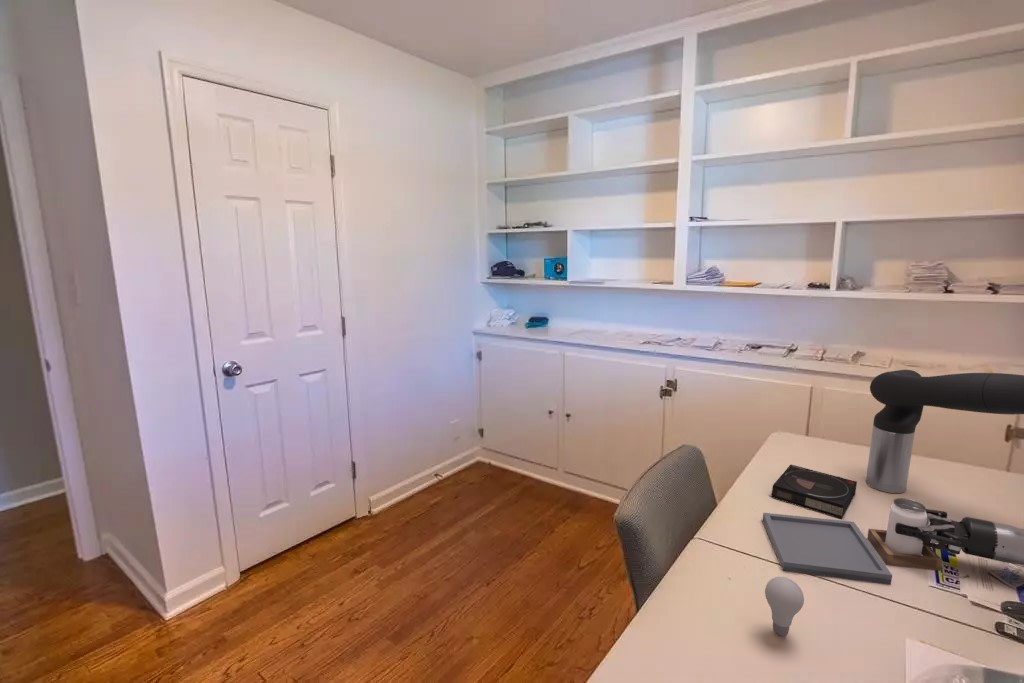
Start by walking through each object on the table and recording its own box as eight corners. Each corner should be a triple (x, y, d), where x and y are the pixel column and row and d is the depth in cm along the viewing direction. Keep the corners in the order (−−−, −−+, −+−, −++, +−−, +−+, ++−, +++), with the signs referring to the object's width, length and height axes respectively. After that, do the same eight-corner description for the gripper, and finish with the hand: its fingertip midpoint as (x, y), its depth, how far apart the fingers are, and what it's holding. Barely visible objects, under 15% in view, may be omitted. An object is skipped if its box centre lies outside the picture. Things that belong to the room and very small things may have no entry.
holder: (867, 538, 121) (868, 528, 120) (916, 543, 118) (918, 533, 118) (886, 564, 111) (888, 554, 111) (940, 571, 109) (942, 560, 108)
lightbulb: (754, 622, 96) (759, 570, 93) (786, 620, 96) (791, 568, 94) (773, 648, 90) (779, 593, 87) (807, 645, 90) (813, 590, 88)
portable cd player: (770, 499, 140) (772, 485, 139) (789, 476, 152) (790, 464, 151) (841, 521, 129) (843, 506, 128) (855, 495, 141) (856, 481, 140)
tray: (762, 520, 129) (763, 512, 128) (852, 530, 124) (853, 521, 124) (783, 571, 110) (784, 561, 109) (890, 584, 105) (892, 575, 105)
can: (927, 564, 111) (935, 513, 108) (893, 561, 112) (900, 511, 110) (910, 546, 117) (918, 498, 115) (878, 543, 119) (885, 496, 116)
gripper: (985, 507, 112) (890, 490, 120) (1008, 542, 99) (900, 520, 107) (979, 538, 113) (886, 519, 121) (1001, 576, 101) (895, 552, 109)
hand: (893, 520), depth 114 cm, fingers closed on can, 6 cm apart
